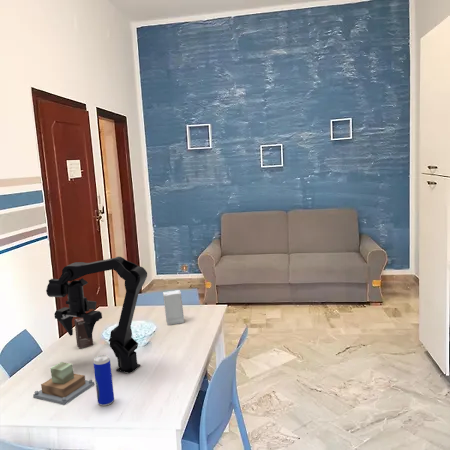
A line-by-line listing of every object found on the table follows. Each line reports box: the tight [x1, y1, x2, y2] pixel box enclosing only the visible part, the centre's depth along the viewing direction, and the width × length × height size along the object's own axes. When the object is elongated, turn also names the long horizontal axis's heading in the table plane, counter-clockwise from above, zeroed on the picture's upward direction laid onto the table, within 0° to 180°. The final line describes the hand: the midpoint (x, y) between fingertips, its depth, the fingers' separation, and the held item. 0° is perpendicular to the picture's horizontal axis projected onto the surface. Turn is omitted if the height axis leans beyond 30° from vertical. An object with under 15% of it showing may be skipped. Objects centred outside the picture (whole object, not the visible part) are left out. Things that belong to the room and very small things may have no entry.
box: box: [73, 317, 94, 349], centre depth 195 cm, size 6×4×12 cm
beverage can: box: [93, 354, 115, 406], centre depth 147 cm, size 5×5×15 cm
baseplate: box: [32, 379, 95, 406], centre depth 158 cm, size 14×14×2 cm
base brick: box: [40, 373, 86, 397], centre depth 157 cm, size 10×10×3 cm
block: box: [50, 361, 75, 384], centre depth 157 cm, size 5×5×5 cm
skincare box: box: [162, 289, 185, 326], centre depth 216 cm, size 8×6×15 cm
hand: (80, 336), depth 174 cm, fingers open, 9 cm apart
